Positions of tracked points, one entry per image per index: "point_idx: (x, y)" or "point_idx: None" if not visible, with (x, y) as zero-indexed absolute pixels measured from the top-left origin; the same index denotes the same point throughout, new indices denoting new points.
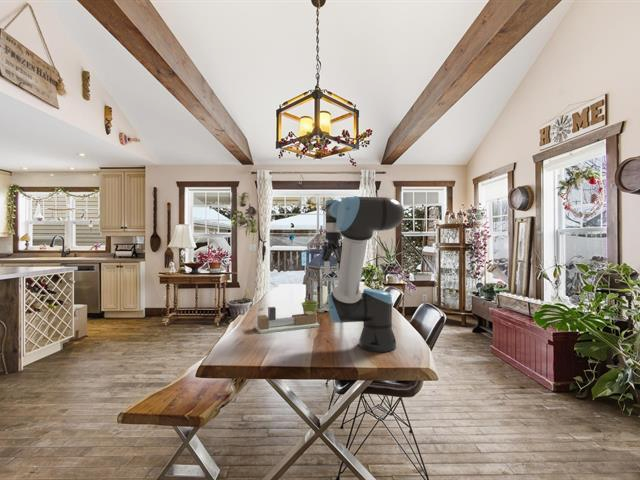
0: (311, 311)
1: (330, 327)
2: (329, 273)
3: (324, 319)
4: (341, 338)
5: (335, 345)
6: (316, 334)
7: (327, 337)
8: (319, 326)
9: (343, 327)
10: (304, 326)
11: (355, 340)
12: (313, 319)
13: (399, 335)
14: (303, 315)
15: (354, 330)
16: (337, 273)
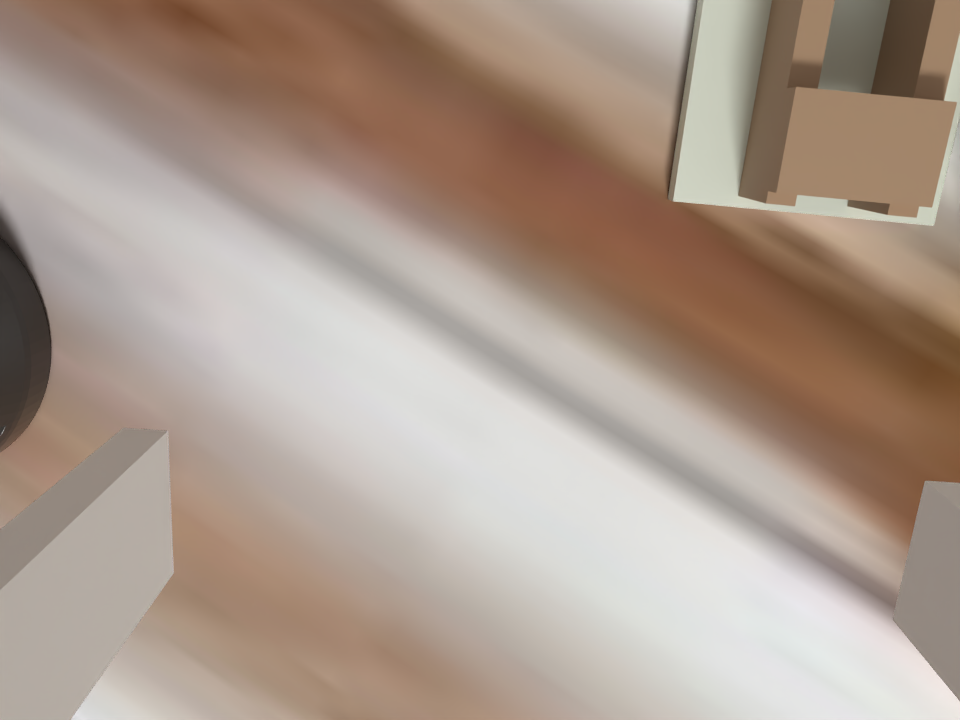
0: (907, 203)
1: (591, 289)
2: (900, 621)
3: (900, 398)
4: (212, 183)
5: (43, 14)
6: (438, 28)
7: (297, 78)
8: (668, 197)
9: (525, 400)
10: (701, 10)
11: (109, 262)
12: (758, 161)
13: None
14: (909, 84)
15: (386, 431)
16: (89, 467)
